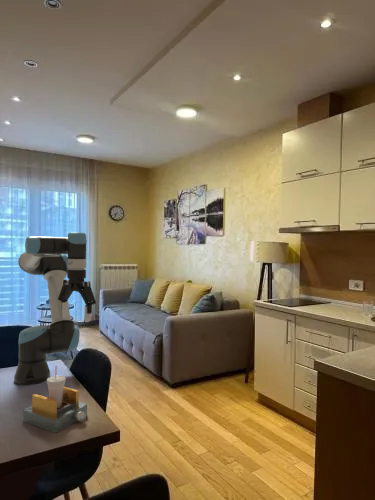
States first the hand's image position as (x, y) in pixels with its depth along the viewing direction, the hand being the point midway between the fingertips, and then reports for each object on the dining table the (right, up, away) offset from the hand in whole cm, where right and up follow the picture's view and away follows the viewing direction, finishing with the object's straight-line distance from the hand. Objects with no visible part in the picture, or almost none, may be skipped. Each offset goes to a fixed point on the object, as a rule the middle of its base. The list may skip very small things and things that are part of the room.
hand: (76, 319), depth 149 cm
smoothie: (0, -26, -24) cm, 36 cm away
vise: (+2, -30, -25) cm, 39 cm away
